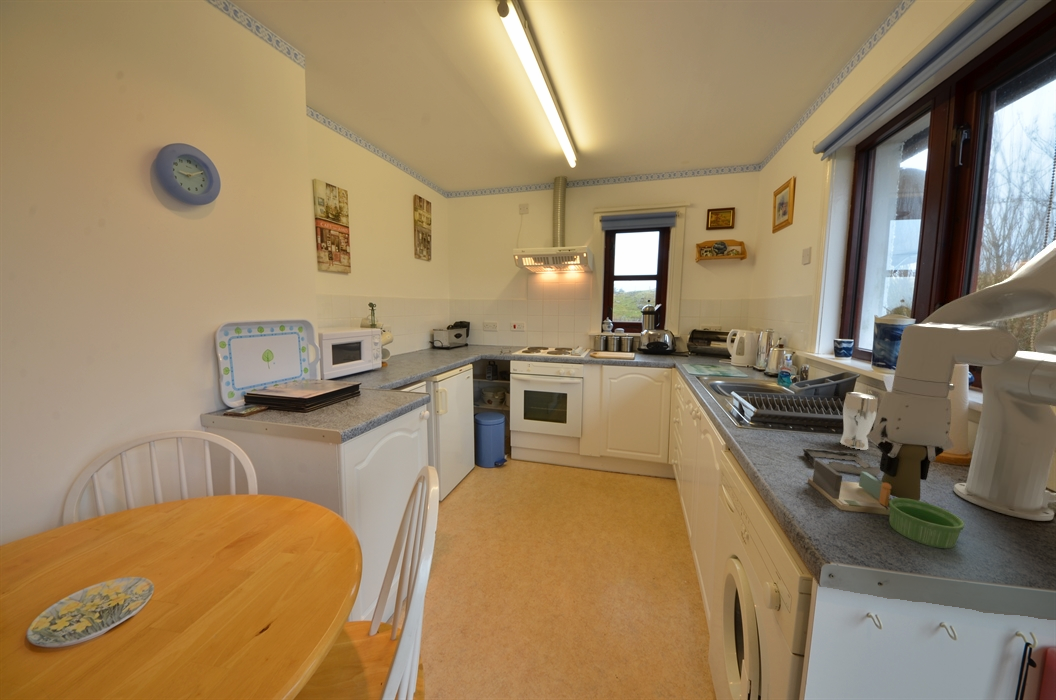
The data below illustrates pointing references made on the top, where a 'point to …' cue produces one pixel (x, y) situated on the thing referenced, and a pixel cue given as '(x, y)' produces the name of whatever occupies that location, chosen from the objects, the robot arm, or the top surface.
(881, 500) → the ball-ended orange rod
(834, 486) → the stand
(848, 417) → the beer glass
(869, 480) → the pad
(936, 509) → the ramekin
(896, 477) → the cork
